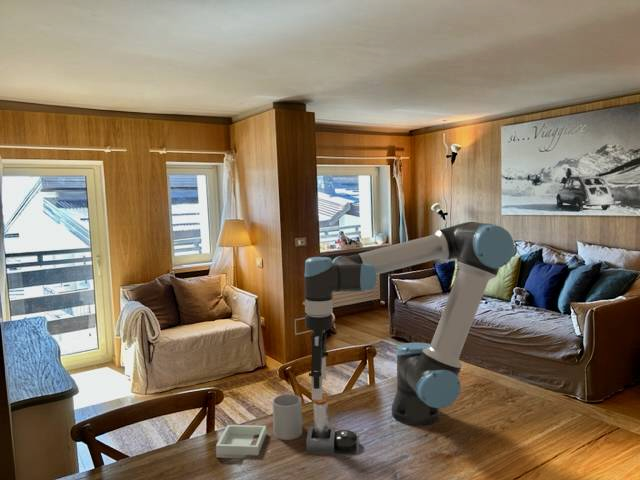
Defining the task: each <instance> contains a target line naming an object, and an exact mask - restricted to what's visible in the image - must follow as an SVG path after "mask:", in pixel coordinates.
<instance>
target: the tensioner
mask: <svg viewBox="0 0 640 480" xmlns="http://www.w3.org/2000/svg"><path fill="white" fill-rule="evenodd" d="M359 443H360V436H359V435H357V434H356V432H354V431H353V430H349V429H342V430H336V427H335V426H328V439H326V438H314V426H308V431H307V436H306V441H305V444H306V451H307V452H306V454H324V455H326V454H327V455H328V454H329V455H353V456H354V455H355V456H357V455H360V453H359V452H360V451H359V450H360V444H359Z"/></svg>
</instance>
